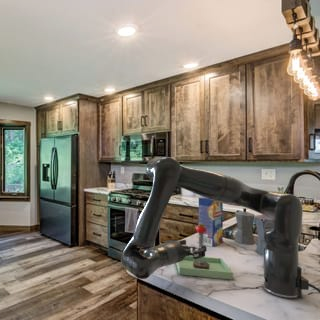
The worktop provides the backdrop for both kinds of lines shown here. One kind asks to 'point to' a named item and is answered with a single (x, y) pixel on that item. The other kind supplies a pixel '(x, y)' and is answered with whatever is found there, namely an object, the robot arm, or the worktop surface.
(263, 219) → the moka pot
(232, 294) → the worktop surface
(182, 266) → the serving tray
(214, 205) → the juice carton
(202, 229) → the red topped grey rod
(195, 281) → the worktop surface
